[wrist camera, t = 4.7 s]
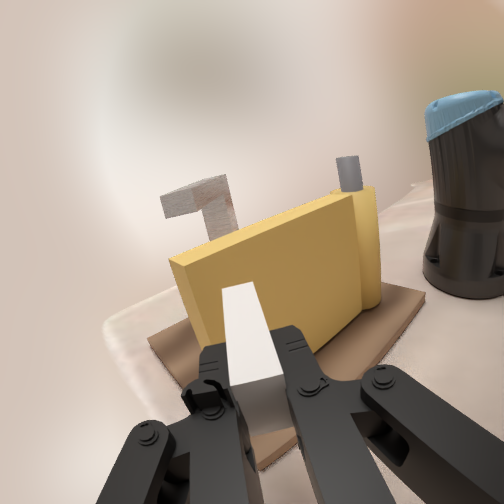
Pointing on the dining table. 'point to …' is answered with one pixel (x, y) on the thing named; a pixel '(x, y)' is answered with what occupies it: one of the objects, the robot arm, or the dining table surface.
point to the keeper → (204, 204)
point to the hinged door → (292, 265)
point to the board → (328, 356)
